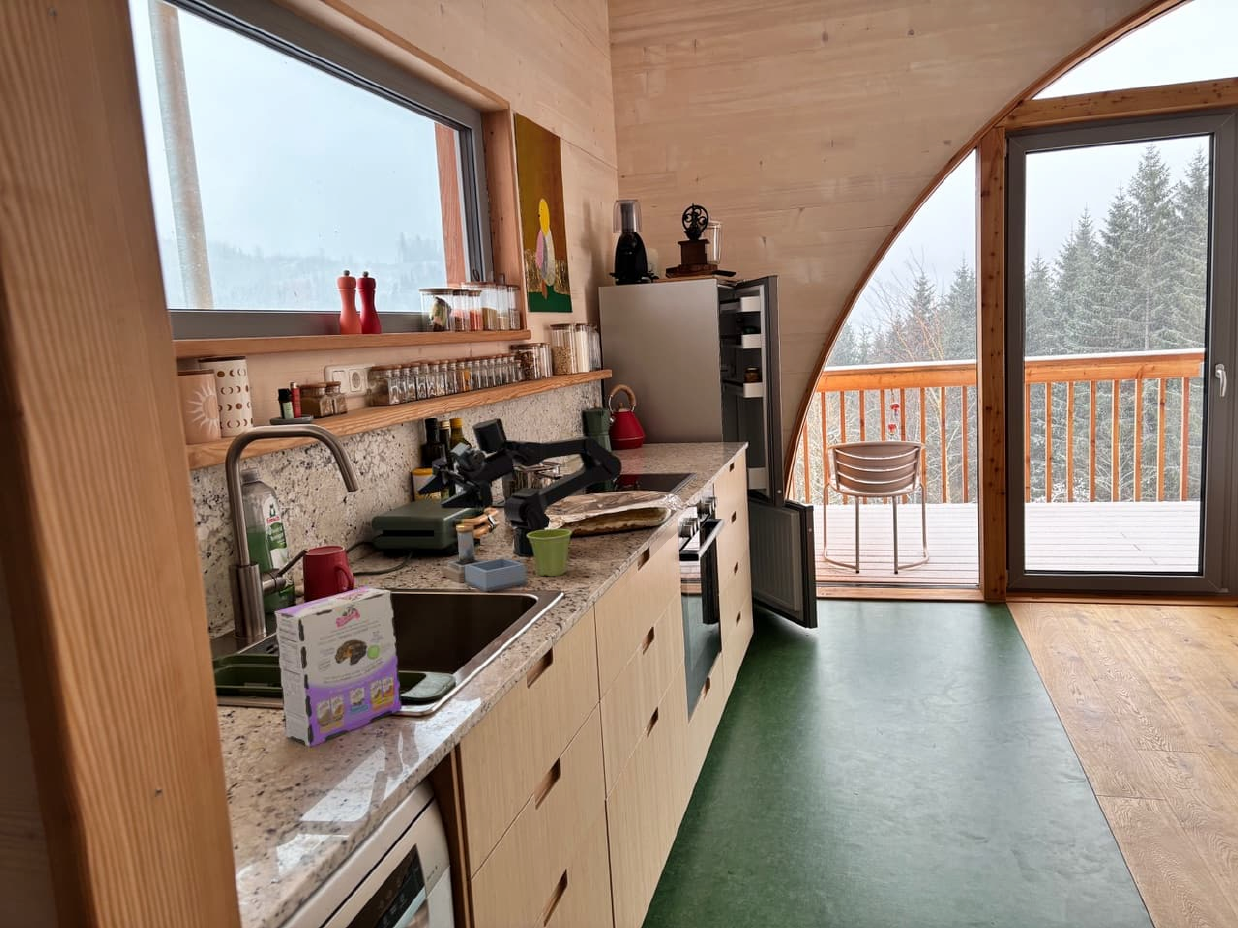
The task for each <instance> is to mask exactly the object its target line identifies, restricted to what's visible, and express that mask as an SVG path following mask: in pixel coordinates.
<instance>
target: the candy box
mask: <svg viewBox="0 0 1238 928" xmlns="http://www.w3.org/2000/svg"><path fill="white" fill-rule="evenodd" d="M393 606H394V605H393V596H392V590H388V589H384V588H377V587H373V586H368V585H366V586H362V587H358V588H355V589H353V590H348V591H345V592H342V593H337V594H335V595H334V594H333V595H330V596H327V597H323V598H319V599H316V600H312V601H309V602H305V603H302V604H297V605H294V606H290V607H286V608H281V609H279V610H274V622H275V629H276V630H275V633H276V642H277V652H278V655H277V656H278V663H279V664H278V665H279V675H280V685H281V693H282V704H283V705H282V706H283V716H284V717H283V718H284V726H285V727H284V728H285V736H286V737H288V738H289V739H291V740H293V741H295V742H298V743H300V744H302V745H304V746H306V747H309V748H310V747H314V746H317V745H320V744H322V743H325V742H327V741H329V740H331V739H334V738H336V737H339V736H341V735H344V734H346V733H348V732H350V731H353V730H355V729H358V728H361V727H363V726H365V725H367V724H370V723H372V722H375V721H377V720H379V719H382V718H384V717H387V716H389V715H392V714H394V713H396V712H399V711H400V710H402V708H403V704H402V694H401V693H402V692H401V684H400V683H401V682H400V672H399V663H398V651H397V650H398V649H397V644H396V643H397V640H396V630H395V629H396V628H395V619H394V617H395V616H394V609H393V608H394V607H393Z"/></svg>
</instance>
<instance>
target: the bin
mask: <svg viewBox="0 0 1238 928" xmlns="http://www.w3.org/2000/svg"><path fill="white" fill-rule="evenodd" d="M482 561H483V562H478V563H472V564H467V565H465V576H466V582H465V584H466V585H468V586H469V587H473V588H475V589H478V590H481V591H482V590H483V591H482V592H485V591H490V592H493V590H494V591H498V590H499V591H500V590H502V589H503V590H504V589H508V588H513V587H517V586H518V587H519V586H522V585H526V584H527V574H526V573H527V571H526V563H525V564H524V563H522V562H520V561H515V560H512V559H509V558H507V557H500V558H499V557H498V558H494V559H489V560H488V559H487V560H482Z"/></svg>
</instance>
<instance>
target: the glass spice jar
mask: <svg viewBox="0 0 1238 928" xmlns="http://www.w3.org/2000/svg"><path fill="white" fill-rule="evenodd" d="M455 528H456V531H457V542H458V559H459V560H460V565H462V566H463V565H467V564H472V563H475V558H476V557H475V547H474V546H475V544H474V542H475V541H474V529H475V528H474V524H473V523H472V522H471V523H467V522H466V523H459V524H455Z"/></svg>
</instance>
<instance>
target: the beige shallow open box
mask: <svg viewBox="0 0 1238 928" xmlns="http://www.w3.org/2000/svg"><path fill="white" fill-rule="evenodd" d="M483 561H484V560H482V559H479V558H476V557H475V563H478V562H483ZM447 563H448V565H446V566H442V569H441V571H442V577H444V578H447V579H449V580H452V581H454V582H456V583H466V576H465V565H463V566H462V565H460V560H454V561H448V562H447Z"/></svg>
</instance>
